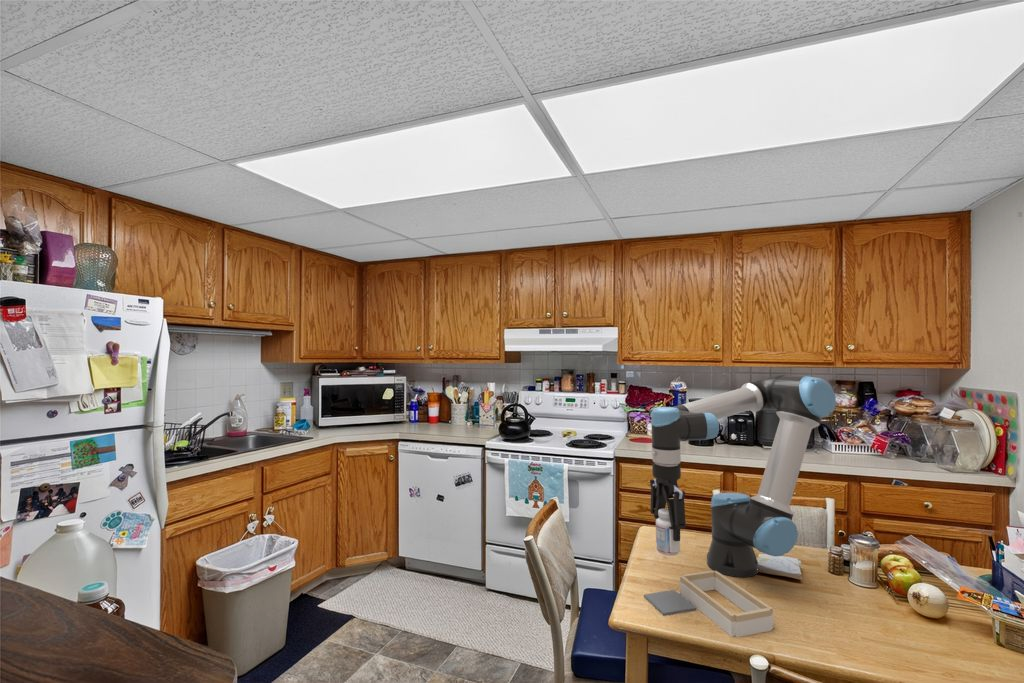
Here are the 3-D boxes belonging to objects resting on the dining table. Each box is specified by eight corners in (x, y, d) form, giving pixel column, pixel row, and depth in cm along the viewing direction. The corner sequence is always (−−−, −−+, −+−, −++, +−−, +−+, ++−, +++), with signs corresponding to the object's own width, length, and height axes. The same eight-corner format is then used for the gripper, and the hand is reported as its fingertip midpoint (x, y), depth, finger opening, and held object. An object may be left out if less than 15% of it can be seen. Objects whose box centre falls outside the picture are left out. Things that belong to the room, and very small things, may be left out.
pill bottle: (679, 548, 133) (678, 508, 133) (679, 557, 127) (678, 515, 127) (656, 546, 135) (656, 506, 135) (655, 554, 129) (655, 513, 129)
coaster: (674, 591, 137) (674, 589, 137) (696, 609, 127) (696, 607, 127) (643, 596, 134) (643, 594, 134) (663, 615, 125) (663, 613, 125)
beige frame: (715, 586, 139) (715, 569, 139) (775, 629, 118) (774, 609, 118) (678, 592, 136) (678, 575, 136) (733, 638, 115) (732, 617, 115)
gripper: (636, 456, 140) (638, 535, 139) (674, 472, 121) (676, 563, 121) (659, 455, 142) (660, 532, 141) (699, 470, 123) (701, 559, 123)
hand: (667, 546), depth 131 cm, fingers closed on pill bottle, 6 cm apart
